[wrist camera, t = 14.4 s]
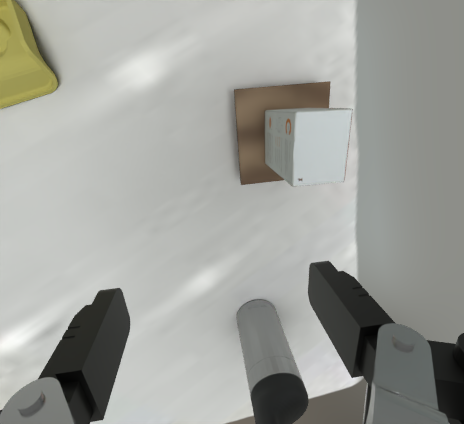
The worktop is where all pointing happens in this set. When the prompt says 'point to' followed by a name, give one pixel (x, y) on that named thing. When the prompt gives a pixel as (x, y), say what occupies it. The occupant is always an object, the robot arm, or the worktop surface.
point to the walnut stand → (253, 122)
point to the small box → (308, 144)
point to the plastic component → (20, 59)
